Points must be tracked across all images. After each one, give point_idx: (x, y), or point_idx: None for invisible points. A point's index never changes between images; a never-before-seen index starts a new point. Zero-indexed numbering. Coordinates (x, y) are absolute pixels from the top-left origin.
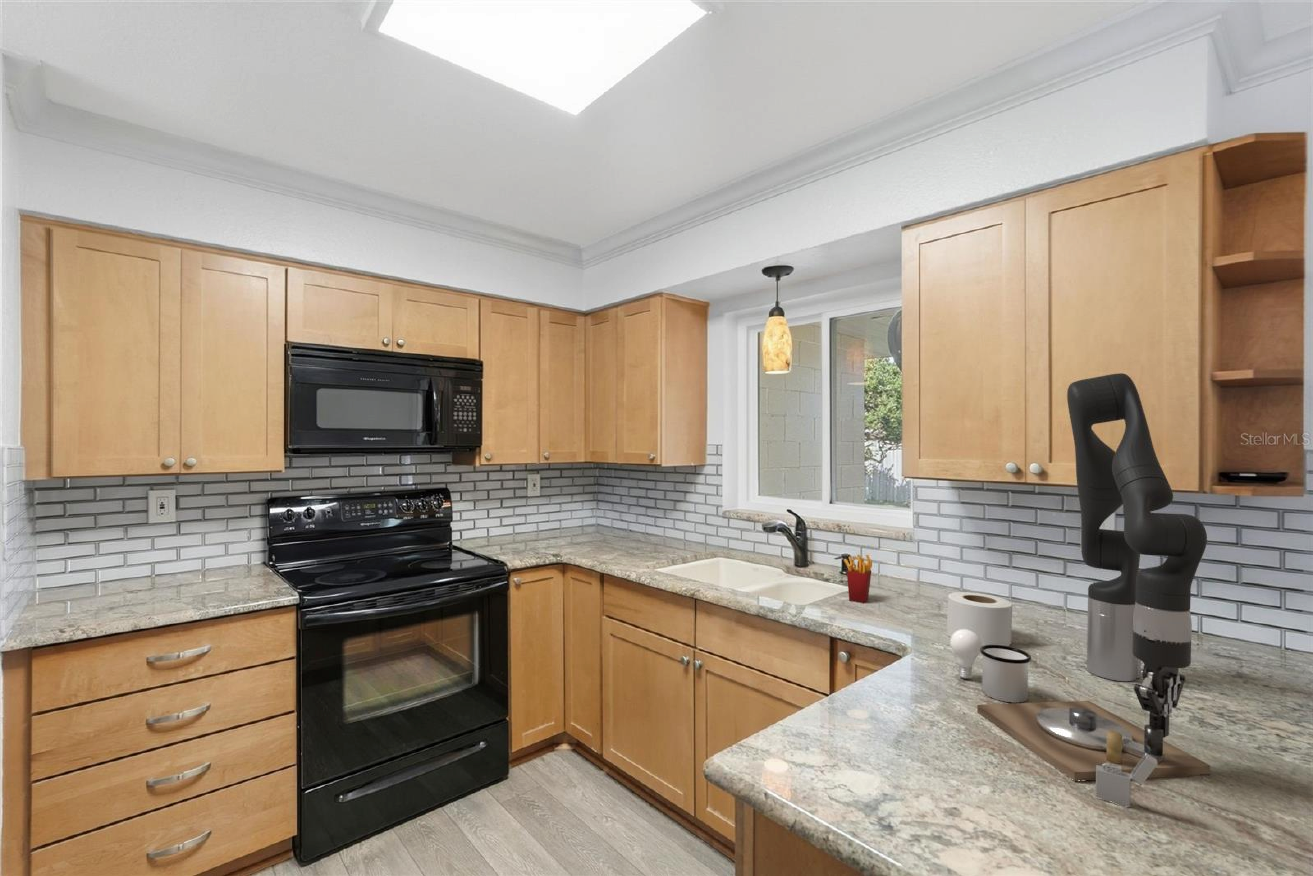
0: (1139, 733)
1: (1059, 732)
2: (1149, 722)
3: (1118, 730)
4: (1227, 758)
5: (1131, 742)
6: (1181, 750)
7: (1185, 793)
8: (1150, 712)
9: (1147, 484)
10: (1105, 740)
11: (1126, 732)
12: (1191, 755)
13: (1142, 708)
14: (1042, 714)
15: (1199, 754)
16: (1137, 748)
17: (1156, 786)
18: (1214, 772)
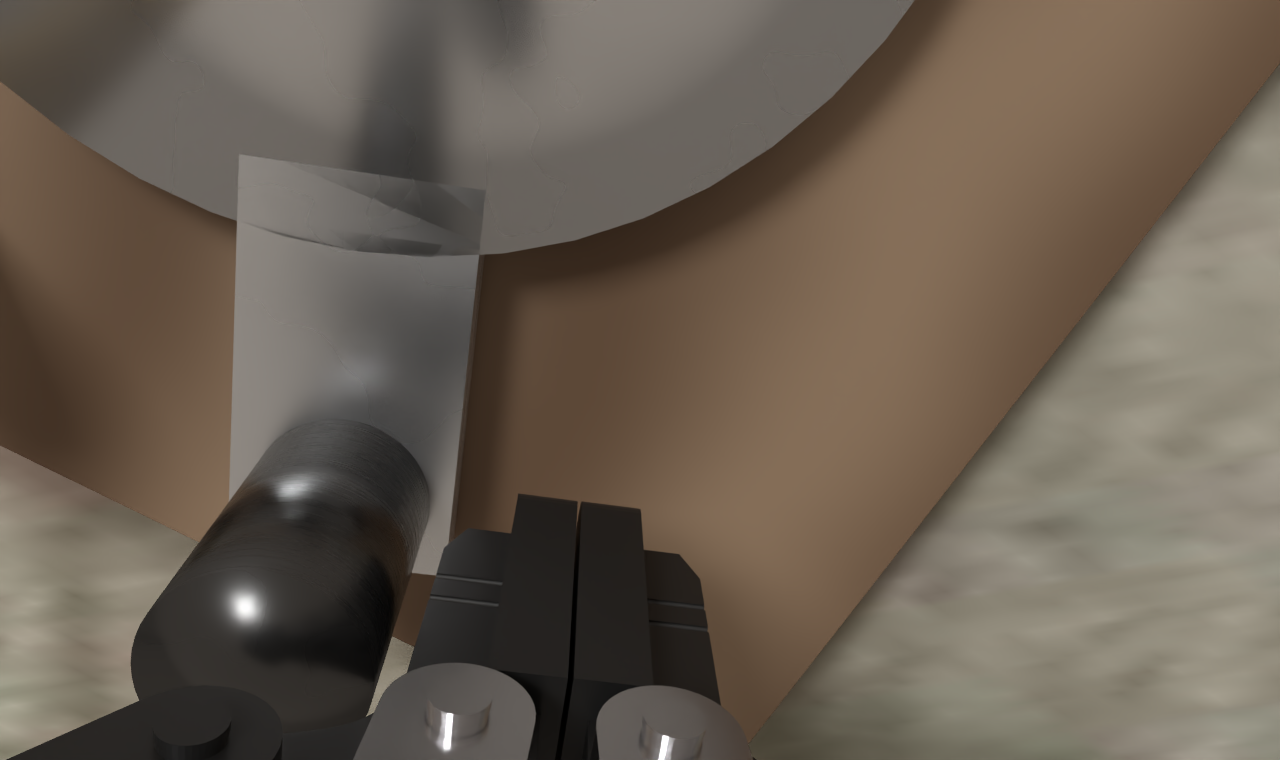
0: (1016, 192)
1: None
2: (506, 561)
3: (673, 54)
4: (1191, 749)
5: (404, 274)
6: (866, 580)
7: (133, 691)
8: (364, 724)
9: None
10: (150, 29)
11: (702, 144)
12: (813, 659)
13: (132, 712)
14: None
15: (1105, 603)
16: (280, 366)
17: (25, 527)
18: (787, 742)
